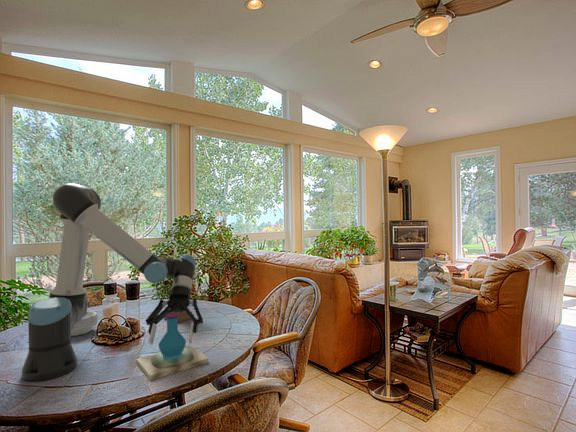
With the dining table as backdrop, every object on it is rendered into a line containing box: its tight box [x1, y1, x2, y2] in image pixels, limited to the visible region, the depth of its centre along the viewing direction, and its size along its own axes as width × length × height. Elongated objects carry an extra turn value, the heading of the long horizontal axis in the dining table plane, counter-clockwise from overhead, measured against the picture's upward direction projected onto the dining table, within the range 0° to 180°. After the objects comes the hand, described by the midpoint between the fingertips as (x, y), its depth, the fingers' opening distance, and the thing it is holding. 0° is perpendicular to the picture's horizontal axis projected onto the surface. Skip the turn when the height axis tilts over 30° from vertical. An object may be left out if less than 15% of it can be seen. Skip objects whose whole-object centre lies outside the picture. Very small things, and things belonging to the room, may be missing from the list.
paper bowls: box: [71, 310, 98, 337], centre depth 146 cm, size 15×15×8 cm
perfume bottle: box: [158, 312, 187, 360], centre depth 115 cm, size 9×9×15 cm
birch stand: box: [135, 344, 209, 381], centre depth 115 cm, size 20×16×2 cm
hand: (170, 342), depth 112 cm, fingers open, 13 cm apart
